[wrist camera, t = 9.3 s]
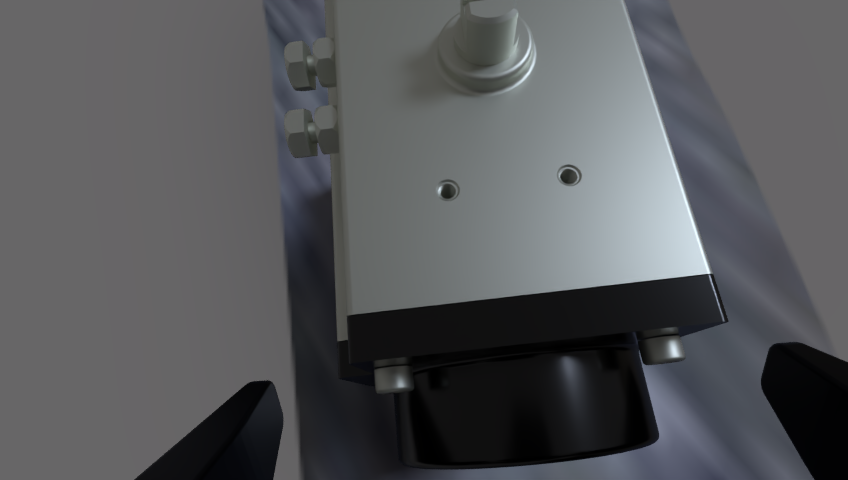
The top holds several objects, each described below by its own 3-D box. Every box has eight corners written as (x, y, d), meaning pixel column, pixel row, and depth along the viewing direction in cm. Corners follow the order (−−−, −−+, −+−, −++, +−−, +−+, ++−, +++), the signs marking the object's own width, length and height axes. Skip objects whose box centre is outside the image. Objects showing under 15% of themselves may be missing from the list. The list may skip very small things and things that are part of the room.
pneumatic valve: (506, 119, 19) (573, -282, 8) (564, 421, 15) (857, 463, 4) (374, 136, 20) (258, -234, 8) (397, 439, 16) (233, 526, 4)
